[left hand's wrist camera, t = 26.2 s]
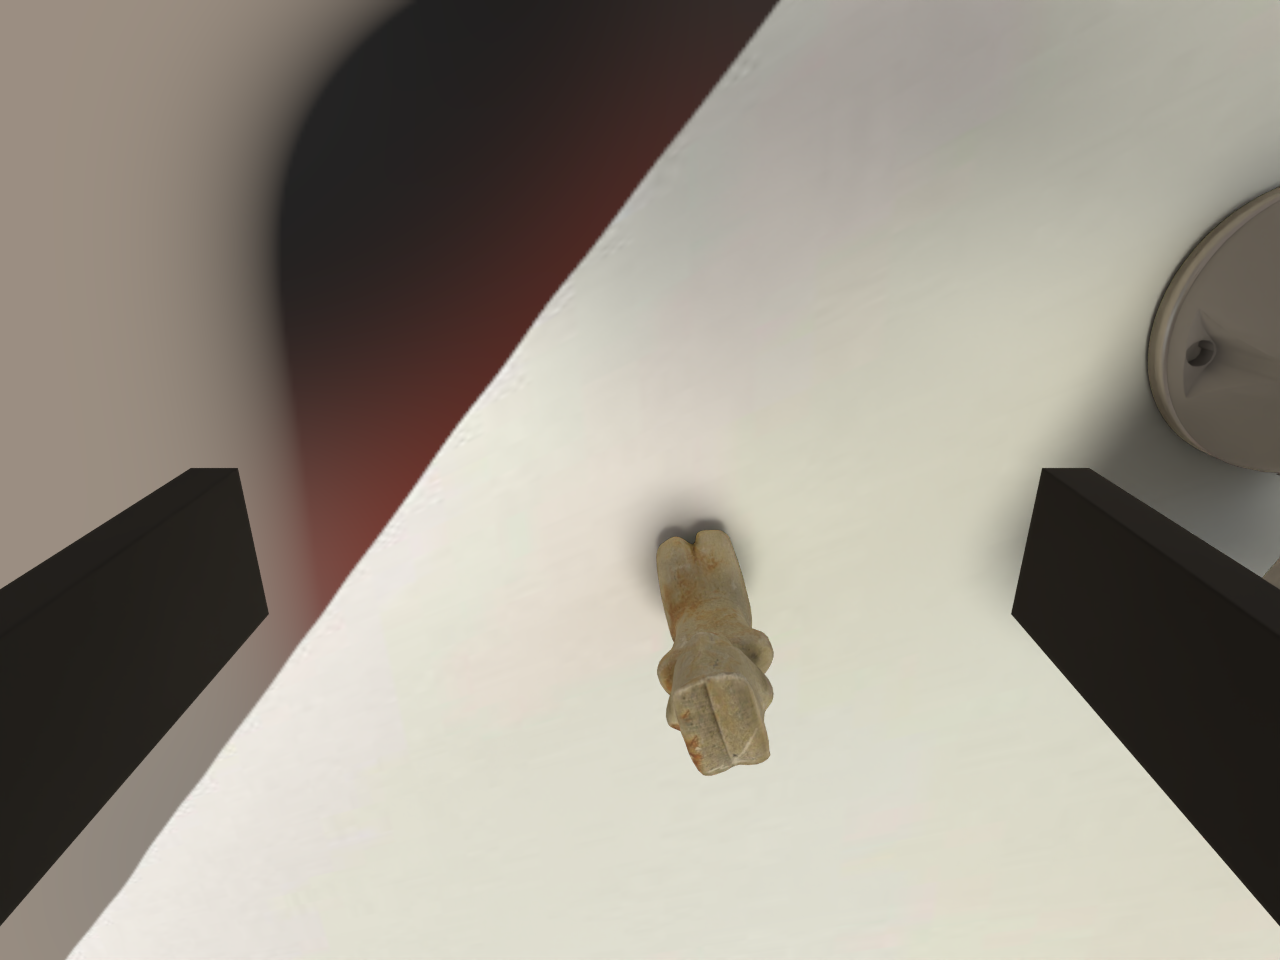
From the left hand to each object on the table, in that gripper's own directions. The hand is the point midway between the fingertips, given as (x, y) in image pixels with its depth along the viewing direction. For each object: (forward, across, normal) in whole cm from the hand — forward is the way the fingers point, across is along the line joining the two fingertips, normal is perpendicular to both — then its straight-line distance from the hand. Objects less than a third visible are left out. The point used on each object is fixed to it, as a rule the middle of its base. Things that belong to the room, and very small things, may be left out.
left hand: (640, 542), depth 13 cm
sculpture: (+29, +4, -17) cm, 34 cm away
